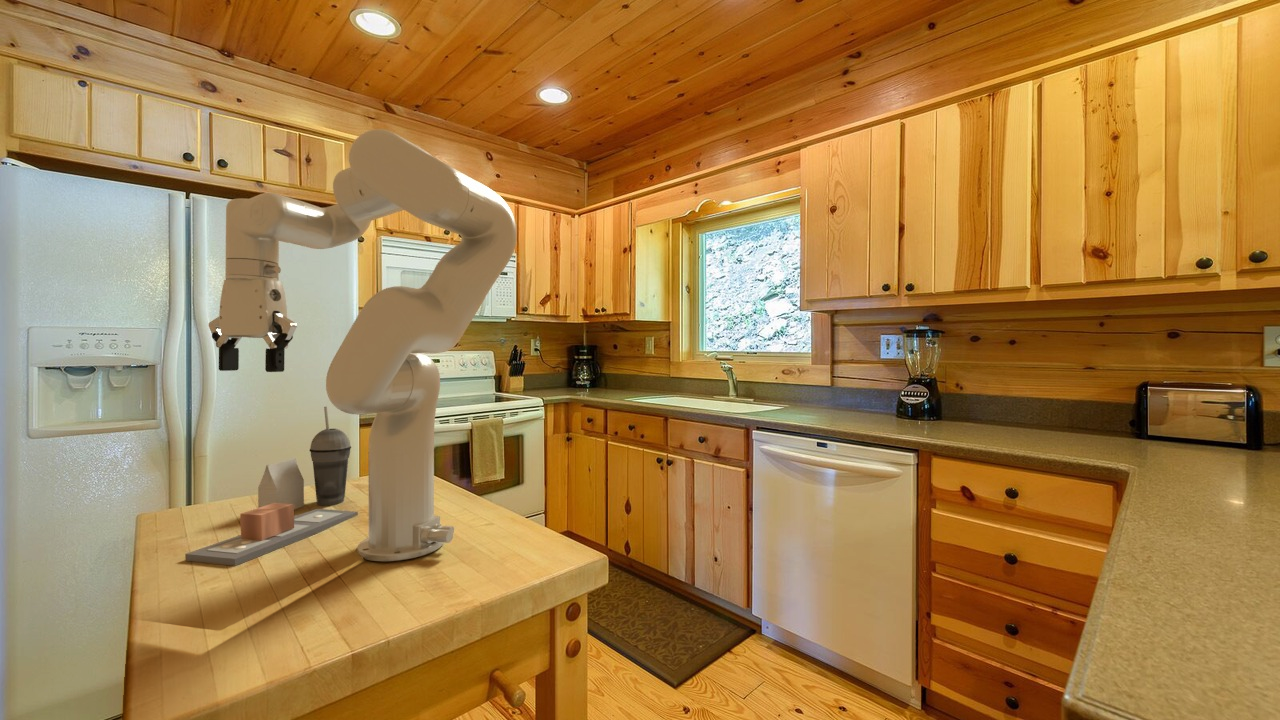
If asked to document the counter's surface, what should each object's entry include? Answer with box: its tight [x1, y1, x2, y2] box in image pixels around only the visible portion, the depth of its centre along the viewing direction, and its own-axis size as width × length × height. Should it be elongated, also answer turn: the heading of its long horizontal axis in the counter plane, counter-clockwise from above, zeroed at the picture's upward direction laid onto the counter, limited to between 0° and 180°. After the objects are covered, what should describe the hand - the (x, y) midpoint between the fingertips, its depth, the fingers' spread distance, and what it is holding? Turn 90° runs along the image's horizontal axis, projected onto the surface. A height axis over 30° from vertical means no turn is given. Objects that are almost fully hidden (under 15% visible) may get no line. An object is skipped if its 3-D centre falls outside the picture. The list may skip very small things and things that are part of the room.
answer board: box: [184, 508, 359, 567], centre depth 89 cm, size 9×24×1 cm, turn 168°
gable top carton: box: [257, 458, 305, 510], centre depth 102 cm, size 4×7×10 cm, turn 173°
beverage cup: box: [309, 405, 352, 507], centre depth 107 cm, size 7×7×20 cm
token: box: [239, 503, 295, 541], centre depth 87 cm, size 4×4×6 cm
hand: (251, 371), depth 93 cm, fingers open, 9 cm apart
